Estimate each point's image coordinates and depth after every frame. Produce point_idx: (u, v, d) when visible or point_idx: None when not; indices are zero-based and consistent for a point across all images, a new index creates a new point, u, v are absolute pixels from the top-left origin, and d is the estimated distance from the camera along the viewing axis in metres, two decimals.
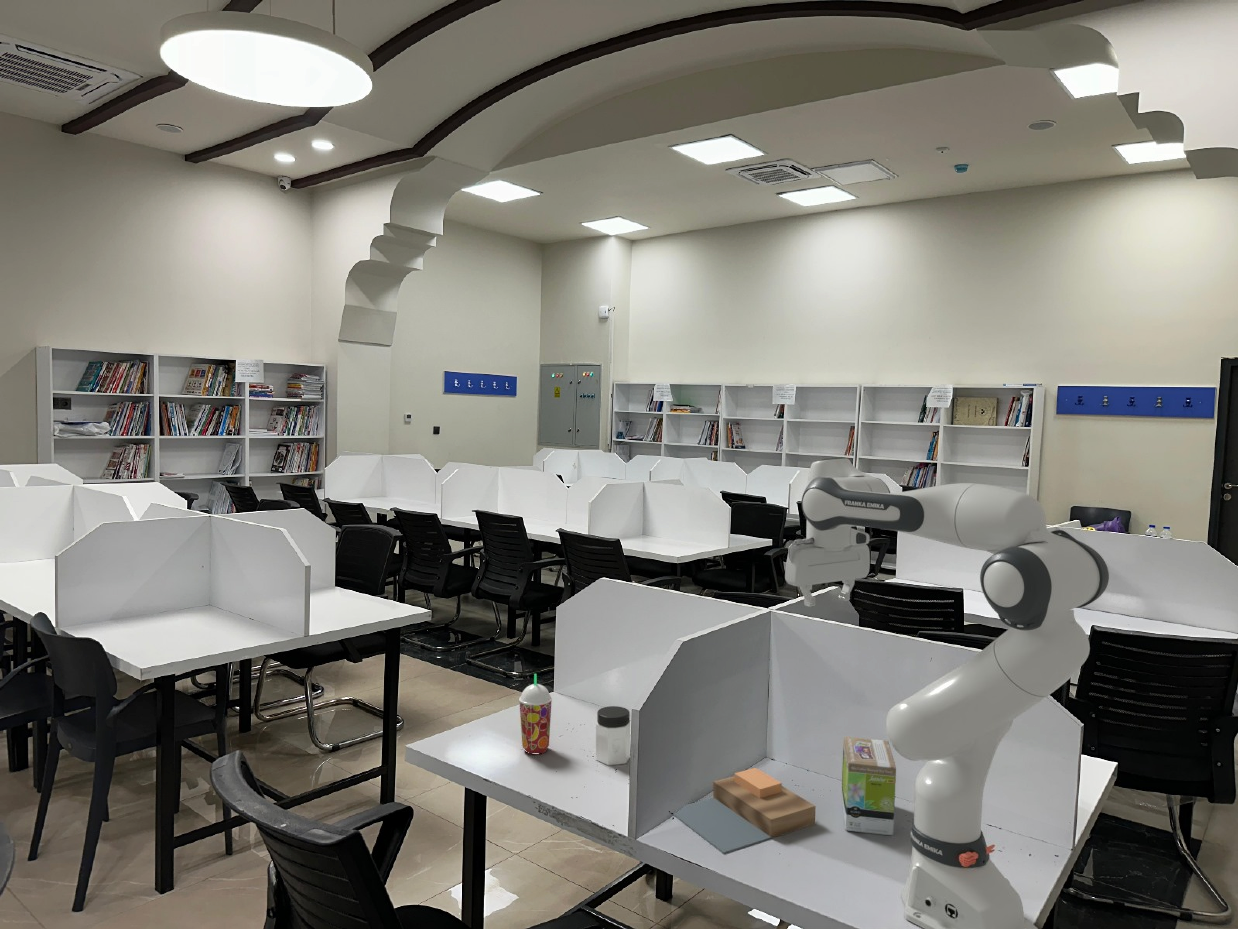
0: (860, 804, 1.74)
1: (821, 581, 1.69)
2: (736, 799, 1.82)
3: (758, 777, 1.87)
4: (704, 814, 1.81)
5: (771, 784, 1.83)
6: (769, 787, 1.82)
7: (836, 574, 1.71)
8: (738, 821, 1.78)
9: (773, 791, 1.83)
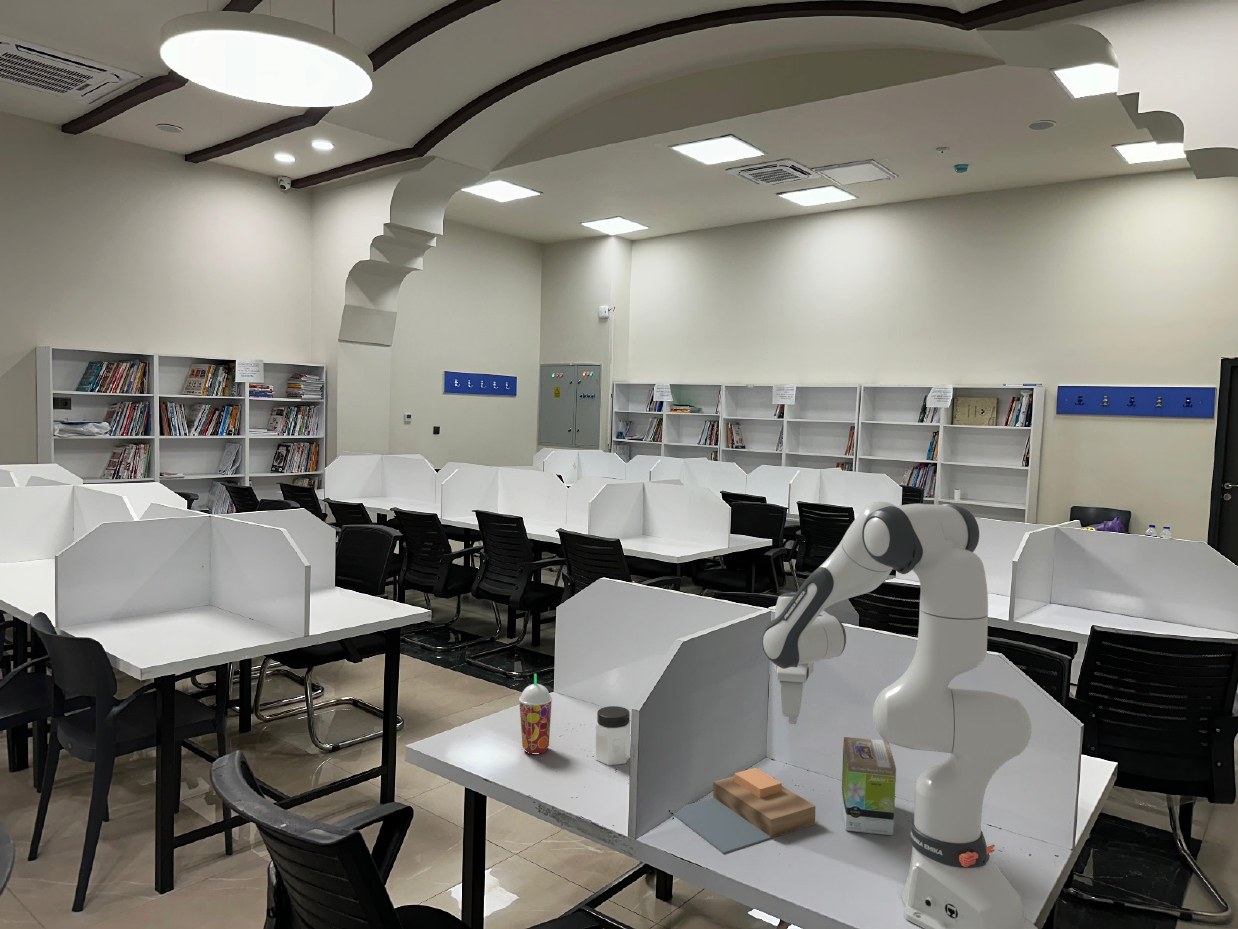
0: (860, 804, 1.74)
1: None
2: (736, 799, 1.82)
3: (758, 777, 1.87)
4: (704, 814, 1.81)
5: (771, 784, 1.83)
6: (769, 787, 1.82)
7: None
8: (738, 821, 1.78)
9: (773, 791, 1.83)
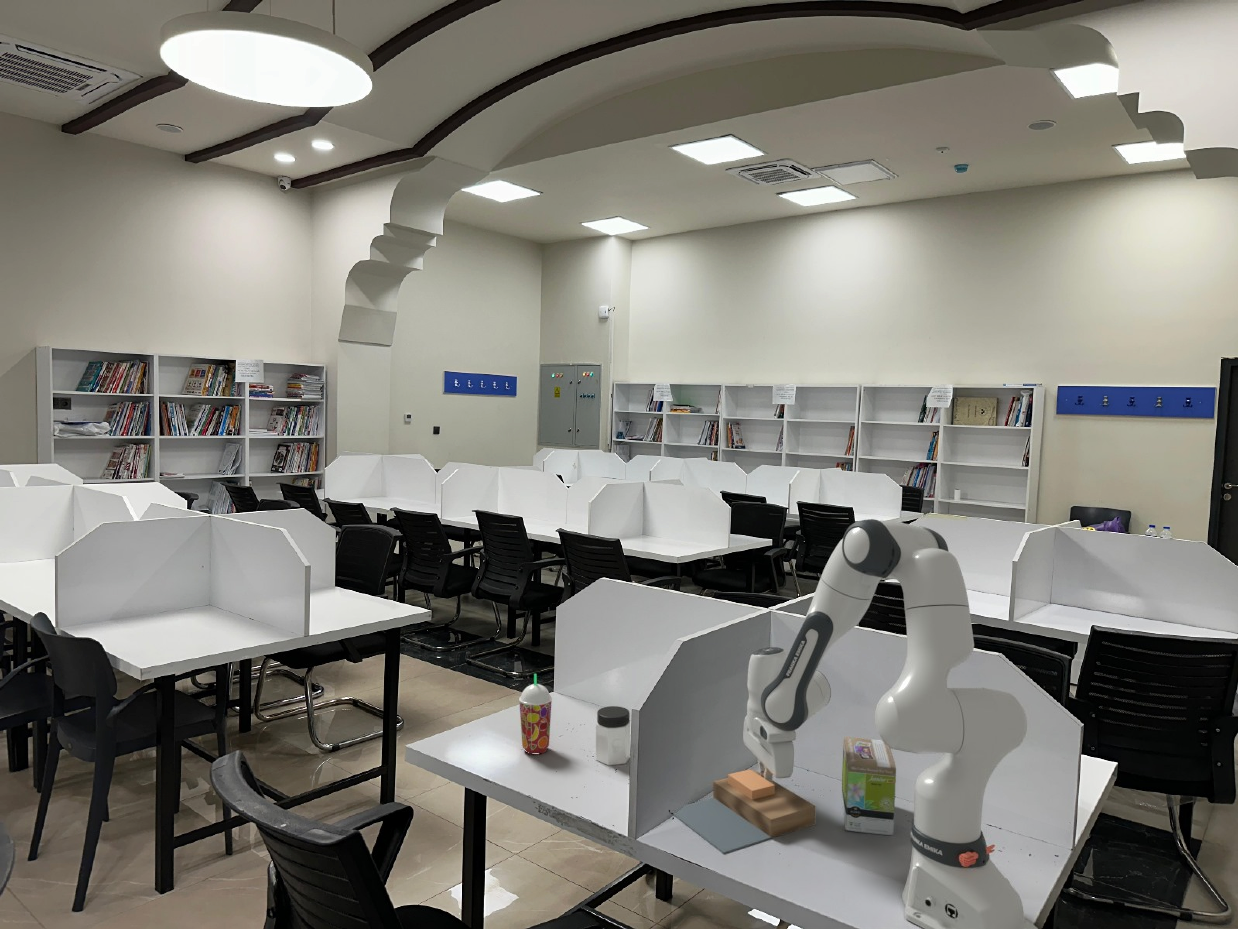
0: (860, 804, 1.74)
1: (753, 752, 1.90)
2: (736, 799, 1.82)
3: (751, 778, 1.86)
4: (704, 814, 1.81)
5: (764, 786, 1.82)
6: (761, 789, 1.81)
7: (760, 755, 1.86)
8: (738, 821, 1.78)
9: (766, 793, 1.82)
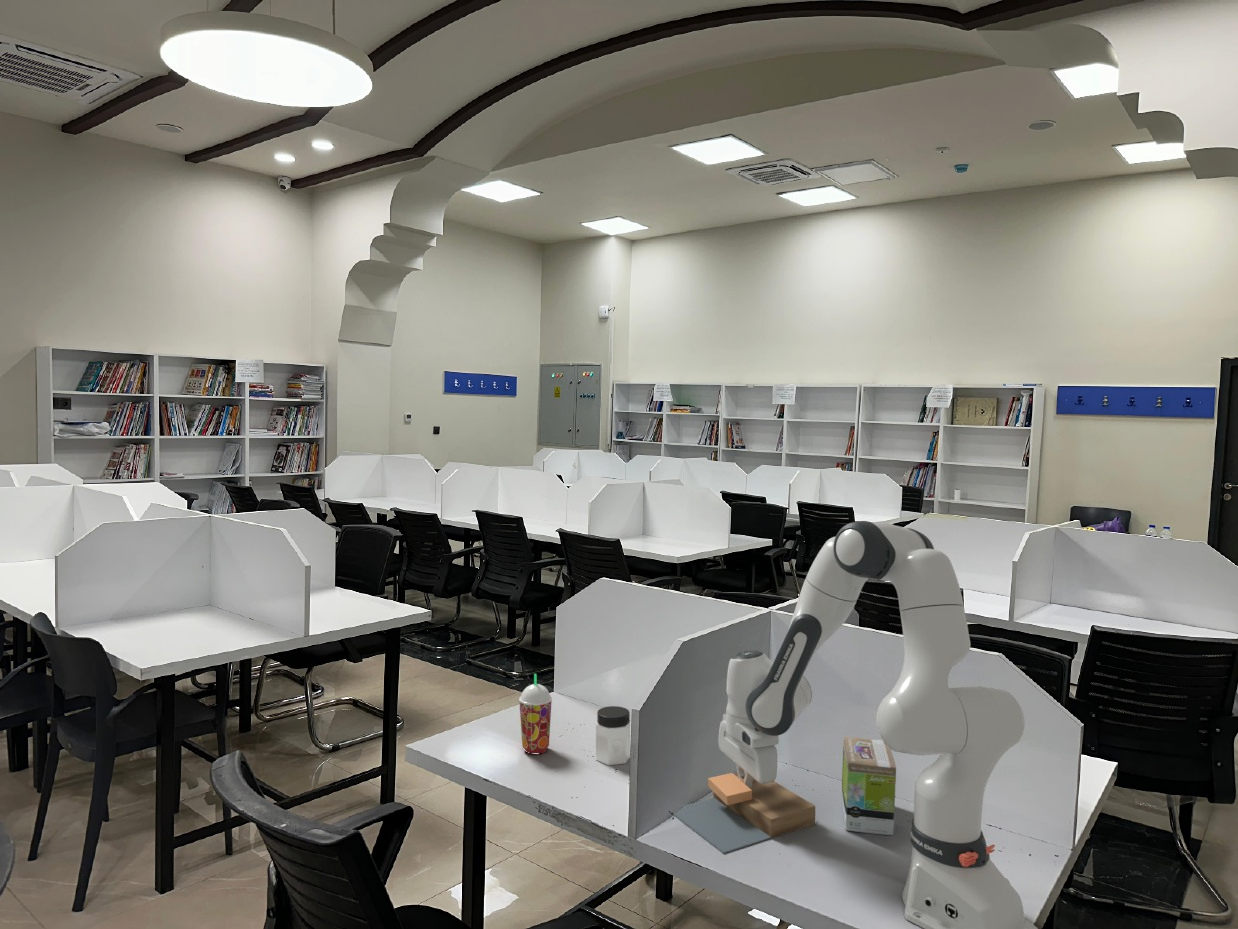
0: (860, 804, 1.74)
1: (731, 758, 1.87)
2: None
3: (730, 783, 1.84)
4: (704, 814, 1.81)
5: (740, 791, 1.80)
6: (737, 794, 1.79)
7: (740, 760, 1.83)
8: (738, 821, 1.78)
9: (742, 798, 1.79)
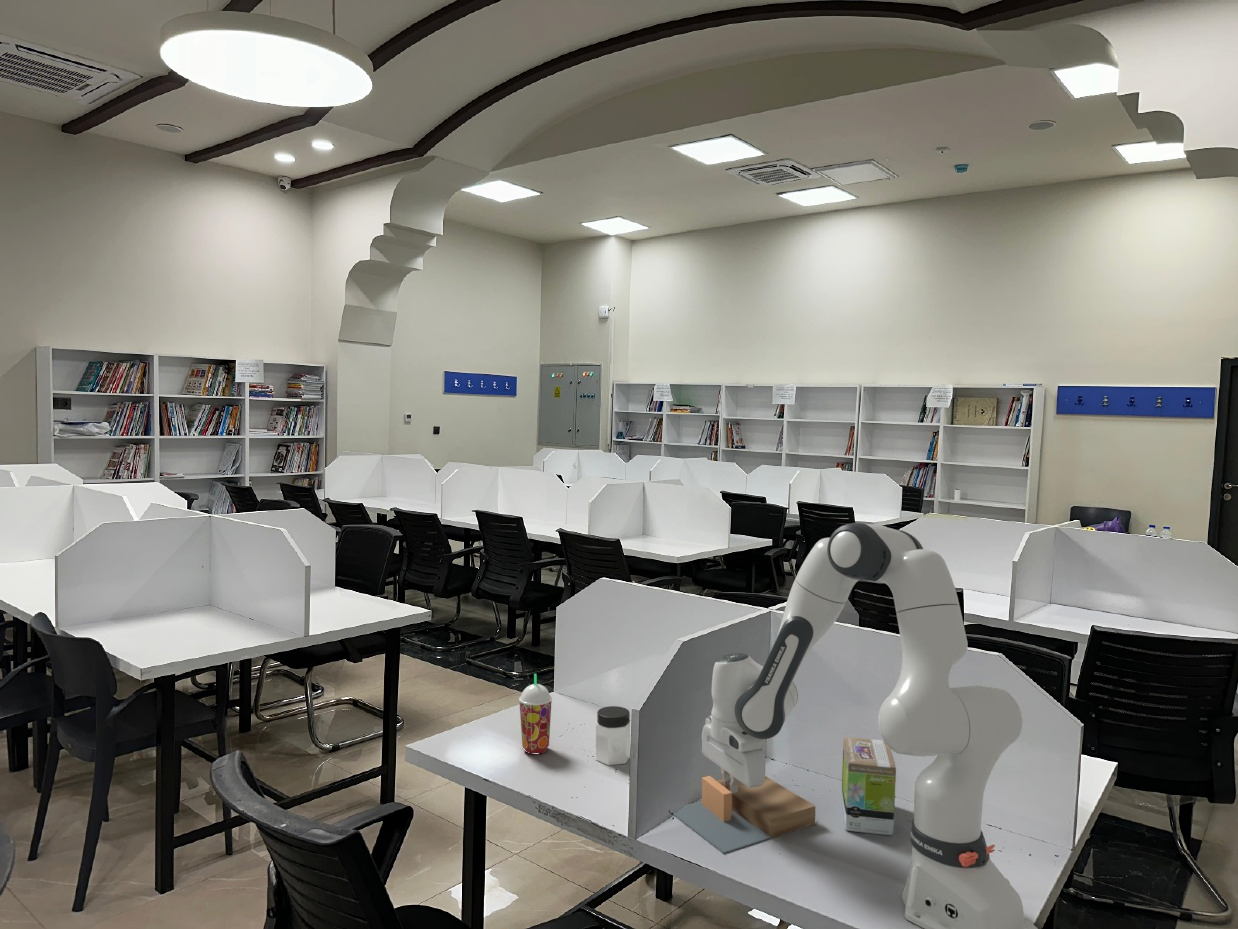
0: (860, 804, 1.74)
1: (715, 762, 1.84)
2: (736, 799, 1.82)
3: (711, 796, 1.82)
4: (704, 814, 1.81)
5: (722, 804, 1.78)
6: (724, 810, 1.78)
7: (725, 765, 1.81)
8: (738, 821, 1.78)
9: (729, 803, 1.78)
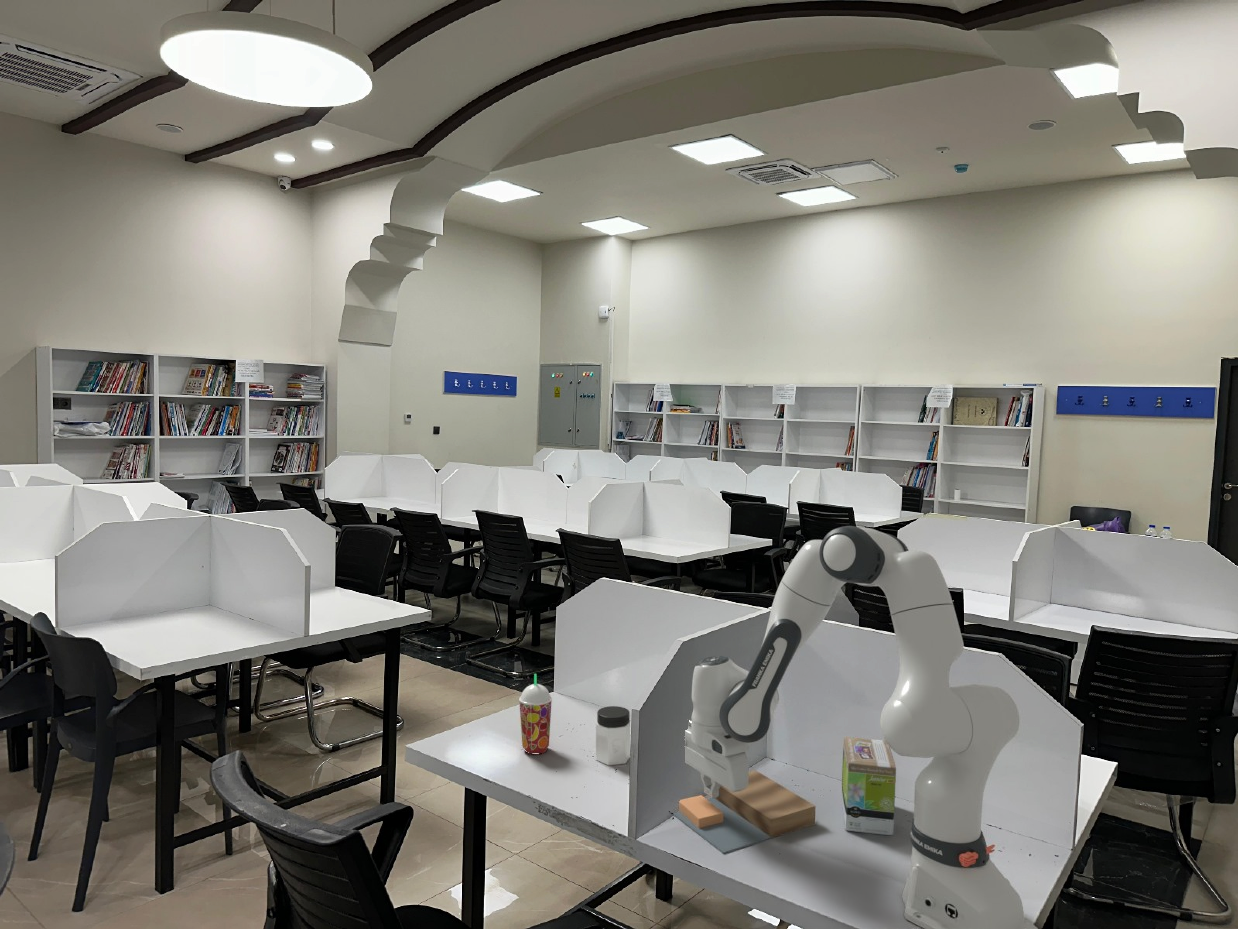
0: (860, 804, 1.74)
1: (695, 767, 1.82)
2: (736, 799, 1.82)
3: None
4: None
5: None
6: None
7: (706, 770, 1.78)
8: (738, 821, 1.78)
9: (708, 819, 1.76)
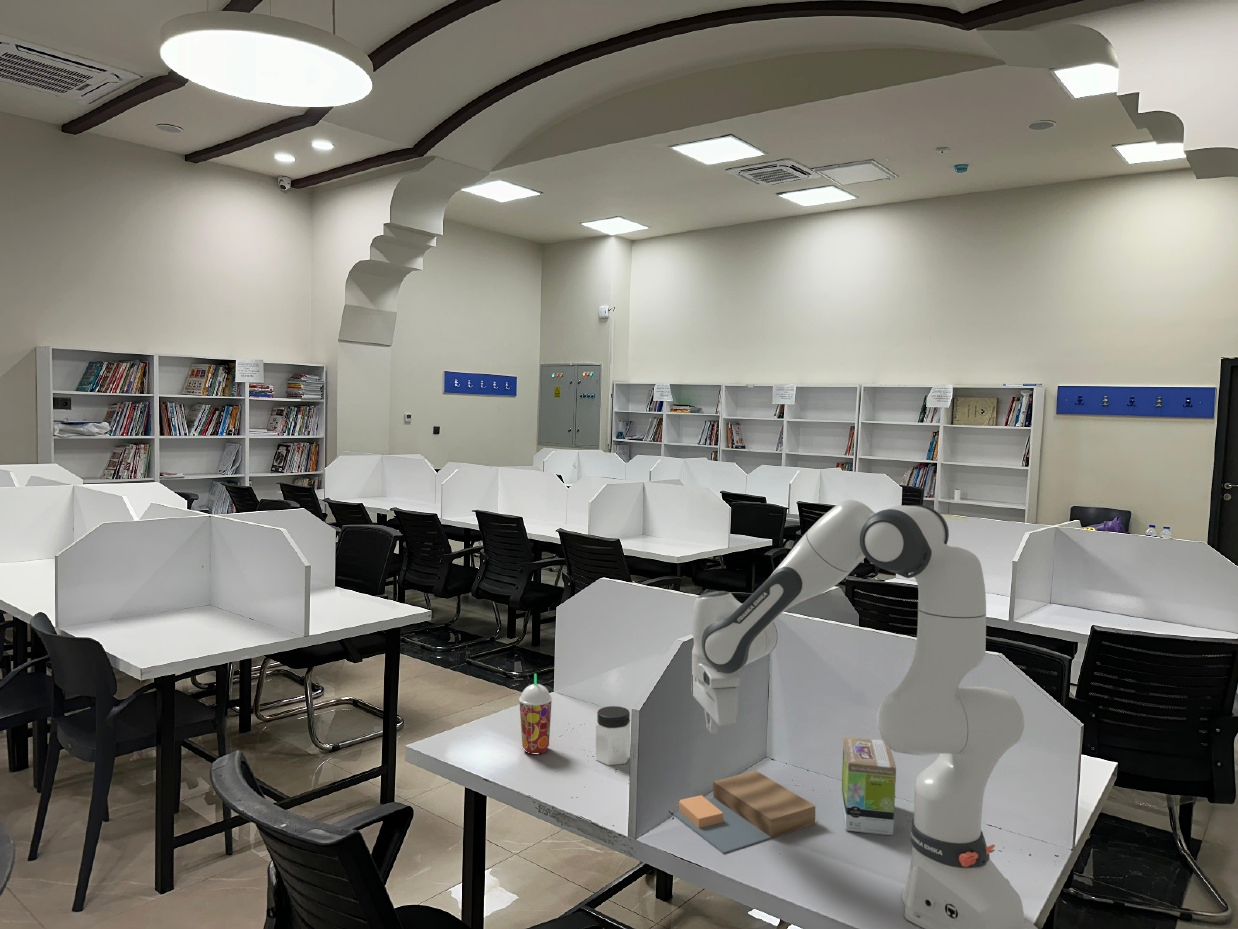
0: (860, 804, 1.74)
1: (699, 702, 1.81)
2: (736, 799, 1.82)
3: None
4: None
5: None
6: None
7: (705, 704, 1.77)
8: (738, 821, 1.78)
9: (708, 819, 1.76)
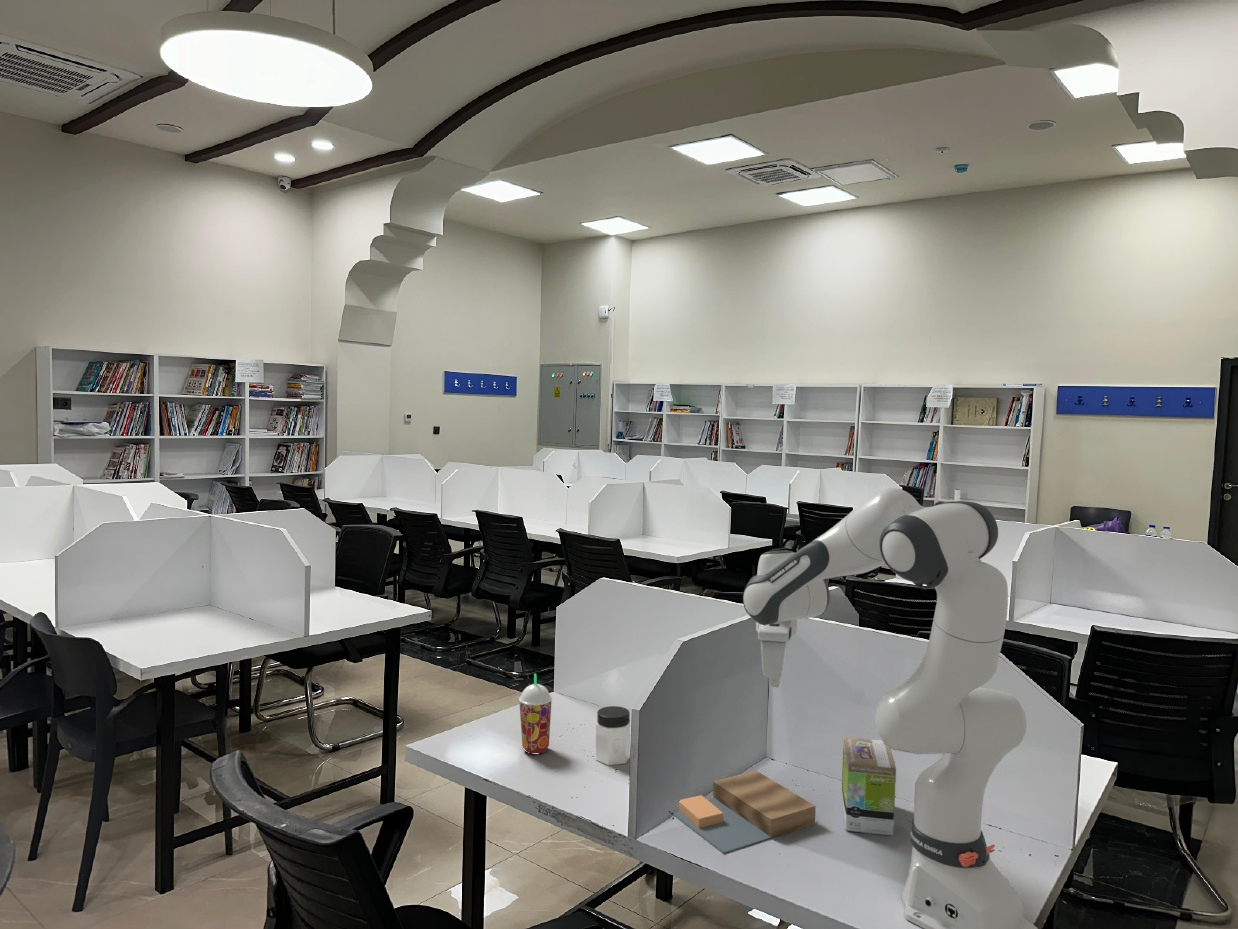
0: (860, 804, 1.74)
1: None
2: (736, 799, 1.82)
3: None
4: None
5: None
6: None
7: None
8: (738, 821, 1.78)
9: (708, 819, 1.76)
